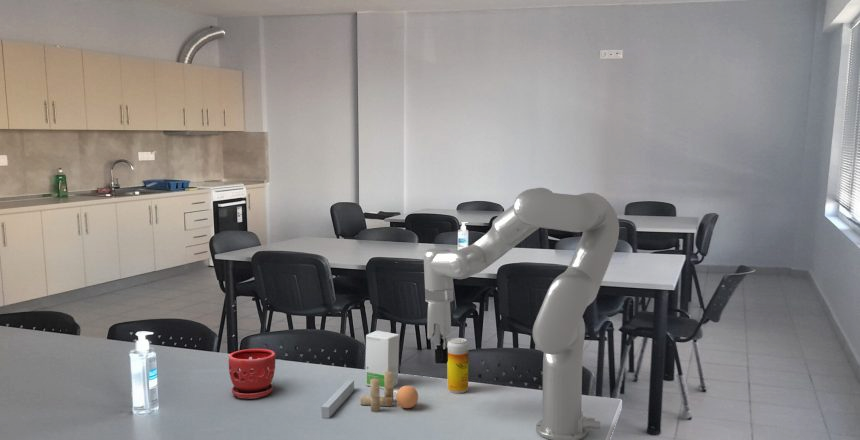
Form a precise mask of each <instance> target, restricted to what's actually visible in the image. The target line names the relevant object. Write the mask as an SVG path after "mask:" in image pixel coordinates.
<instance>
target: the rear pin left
mask: <svg viewBox="0 0 860 440" xmlns="http://www.w3.org/2000/svg"><path fill="white" fill-rule="evenodd" d="M370 385H371V386H370V396H371V405H370V412H372V413H378V412H380V411H381V410H380V409H381V408H380V407H381V406H380V397H381V395H380V392H381V391H380V388H379V379H377V378H374V379H371V380H370Z"/></svg>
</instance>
